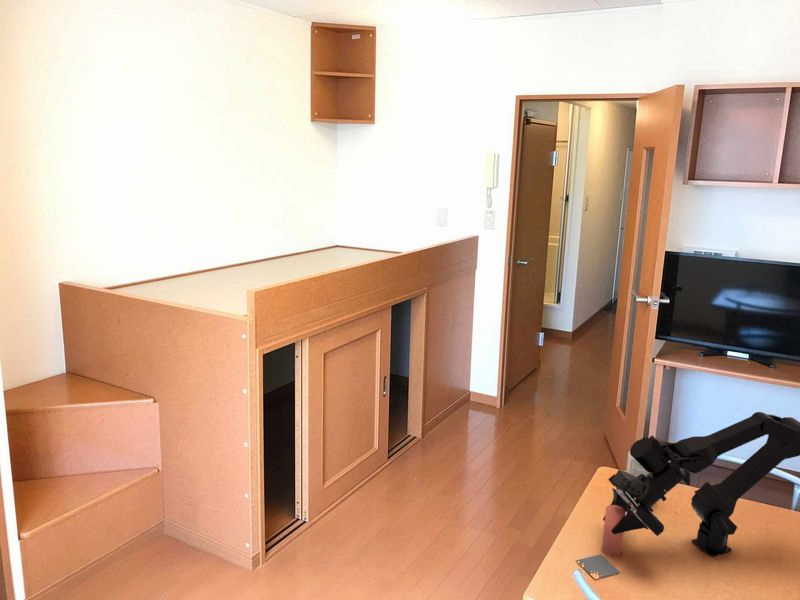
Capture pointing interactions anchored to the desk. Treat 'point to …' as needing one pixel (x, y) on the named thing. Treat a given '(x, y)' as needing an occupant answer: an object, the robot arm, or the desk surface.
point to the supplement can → (635, 467)
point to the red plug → (610, 540)
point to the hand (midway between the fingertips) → (608, 526)
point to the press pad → (598, 566)
